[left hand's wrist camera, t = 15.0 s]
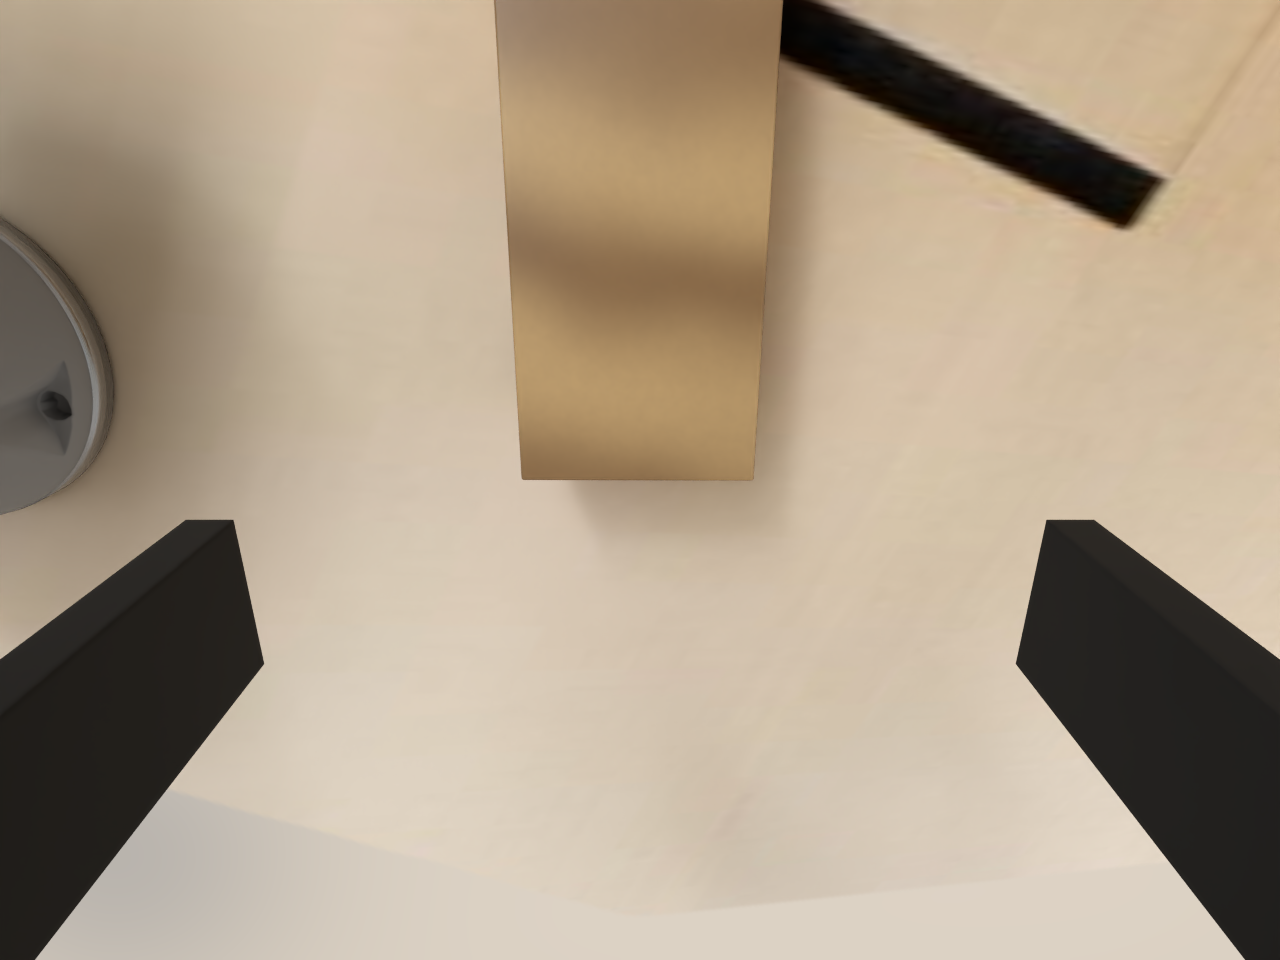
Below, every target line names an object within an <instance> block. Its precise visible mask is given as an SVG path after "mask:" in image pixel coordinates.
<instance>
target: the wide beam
mask: <svg viewBox="0 0 1280 960" xmlns="http://www.w3.org/2000/svg"><path fill="white" fill-rule="evenodd" d="M782 6H783V0H494V7H495V25H496V42H497V59H498V77H499V94H500V111H501V129H502V146H503V163H504V181H505V198H506V215H507V233H508V250H509V267H510V285H511V302H512V319H513V337H514V354H515V371H516V389H517V406H518V423H519V441H520V458H521V475H522V479H523V480H753V479H754V463H755V446H756V430H757V414H758V397H759V381H760V365H761V349H762V332H763V316H764V300H765V283H766V267H767V251H768V234H769V218H770V202H771V186H772V169H773V153H774V137H775V120H776V104H777V88H778V72H779V55H780V39H781V23H782Z"/></svg>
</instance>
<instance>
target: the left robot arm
mask: <svg viewBox="0 0 1280 960" xmlns="http://www.w3.org/2000/svg"><path fill="white" fill-rule="evenodd" d="M113 398H114V395H113V379H112V372H111V366H110V361H109V357H108V353H107V350H106V347H105V344H104V341H103V338H102V335H101V333H100V331H99V328H98V326H97V324H96V322H95V319H94V318H93V316H92V314H91V312H90V310H89V308H88V306H87V305H86V303H85V302H84V300H83V298H82V297H81V295H80V294H79V292H78V291H77V289H76V288H75V287H74V285H73V284H72V283H71V281H70V280H69V279H68V277H67V276H66V275H65V274H64V272H63V271H62V270H61V269H60V268H59V267H58V266H57V265H56V263H55V262H54V261H53V260H52V259H51V258H50V257H49V256H48V255H47V254H46V253H45V252H44V251H43V250H42V249H41V248H39V247H38V246H37V245H36V244H35V243H34V242H32V241H31V240H30V239H29V238H28V237H26V236H25V235H24V234H23V233H21V232H20V231H19V230H17V229H16V228H14V227H13V226H12V225H10V224H9V223H7V222H6V221H4V220H2V219H1V218H0V515H2V514H5V513H8V512H12V511H15V510H19V509H22V508H25V507H27V506H30V505H32V504H35V503H36V502H38V501H40V500H42V499H44V498H46V497H48V496H50V495H51V494H53V493H55V492H57V491H59V490H61V489H62V488H64V487H66V486H67V485H69V484H70V483H72V482H73V481H74V480H76V479H77V478H78V477H79V476H80V475H81V474H82V473H83V472H84V471H85V470H86V469H87V468H88V467H89V466H90V464H91V463H92V462H93V461H94V459H95V458H96V456H97V454H98V453H99V451H100V450H101V448H102V445H103V443H104V441H105V439H106V436H107V433H108V430H109V427H110V422H111V417H112V412H113ZM263 665H264V661H263V656H262V652H261V647H260V642H259V637H258V633H257V628H256V623H255V619H254V614H253V609H252V605H251V600H250V595H249V591H248V586H247V581H246V577H245V572H244V567H243V562H242V558H241V553H240V548H239V544H238V539H237V534H236V530H235V525H234V520H185V521H184V522H183V523H181V524H180V525H179V526H177V527H176V528H175V529H173V530H172V531H171V532H169V533H168V534H167V535H165V536H164V537H163V538H161V539H160V540H159V541H157V542H156V543H155V544H153V545H152V546H151V547H149V548H148V549H147V550H145V551H144V552H143V553H141V554H140V555H139V556H137V557H136V558H135V559H133V560H132V561H131V562H129V563H128V564H127V565H125V566H124V567H123V568H121V569H120V570H119V571H117V572H116V573H115V574H113V575H112V576H111V577H109V578H108V579H107V580H105V581H104V582H103V583H101V584H100V585H99V586H97V587H96V588H95V589H93V590H92V591H91V592H89V593H88V594H87V595H85V596H84V597H83V598H81V599H80V600H79V601H77V602H76V603H75V604H73V605H72V606H71V607H69V608H68V609H67V610H65V611H64V612H63V613H61V614H60V615H59V616H57V617H56V618H55V619H53V620H52V621H51V622H49V623H48V624H47V625H45V626H44V627H43V628H42V629H40V630H39V631H38V632H36V633H35V634H34V635H32V636H31V637H30V638H28V639H27V640H26V641H24V642H23V643H22V644H20V645H19V646H18V647H16V648H15V649H14V650H12V651H11V652H10V653H8V654H7V655H6V656H4V657H3V658H2V659H0V960H35V959H36V958H37V956H38V955H39V954H40V952H41V951H42V950H43V949H44V947H45V946H46V945H47V943H48V942H49V941H50V940H51V938H52V937H53V936H54V934H55V933H56V932H57V931H58V929H59V928H60V927H61V925H62V924H63V923H64V921H65V920H66V919H67V918H68V916H69V915H70V914H71V912H72V911H73V910H74V909H75V907H76V906H77V905H78V903H79V902H80V901H81V899H82V898H83V897H84V896H85V894H86V893H87V892H88V891H89V889H90V888H91V887H92V885H93V884H94V883H95V882H96V880H97V879H98V878H99V876H100V875H101V874H102V872H103V871H104V870H105V868H106V867H107V866H108V865H109V863H110V862H111V861H112V860H113V858H114V857H115V856H116V854H117V853H118V852H119V851H120V849H121V848H122V847H123V845H124V844H125V843H126V841H127V840H128V839H129V838H130V836H131V835H132V834H133V832H134V831H135V830H136V829H137V827H138V826H139V825H140V823H141V822H142V821H143V819H144V818H145V817H146V816H147V814H148V813H149V812H150V810H151V809H152V808H153V807H154V805H155V804H156V803H157V801H158V800H159V799H160V798H161V796H162V795H163V794H164V792H165V791H166V790H167V789H168V787H169V786H170V785H171V783H172V782H173V781H174V780H175V778H176V777H177V776H178V774H179V773H180V772H181V770H182V769H183V768H184V767H185V765H186V764H187V763H188V761H189V760H190V759H191V758H192V756H193V755H194V754H195V752H196V751H197V750H198V749H199V747H200V746H201V745H202V743H203V742H204V741H205V740H206V738H207V737H208V736H209V734H210V733H211V732H212V730H213V729H214V728H215V727H216V725H217V724H218V723H219V721H220V720H221V719H222V718H223V716H224V715H225V714H226V712H227V711H228V710H229V709H230V707H231V706H232V705H233V703H234V702H235V701H236V699H237V698H238V697H239V696H240V694H241V693H242V692H243V690H244V689H245V688H246V687H247V685H248V684H249V683H250V681H251V680H252V679H253V678H254V676H255V675H256V674H257V672H258V671H259V670H260V669H261V667H262V666H263ZM1016 665H1017V666H1018V667H1019V669H1020V670H1021V671H1022V672H1023V674H1024V675H1025V676H1026V678H1027V679H1028V680H1029V681H1030V683H1031V684H1032V685H1033V687H1034V688H1035V689H1036V690H1037V692H1038V693H1039V694H1040V696H1041V697H1042V698H1043V699H1044V701H1045V702H1046V703H1047V705H1048V706H1049V707H1050V709H1051V710H1052V711H1053V712H1054V714H1055V715H1056V716H1057V718H1058V719H1059V720H1060V721H1061V723H1062V724H1063V725H1064V727H1065V728H1066V729H1067V730H1068V732H1069V733H1070V734H1071V736H1072V737H1073V738H1074V740H1075V741H1076V742H1077V743H1078V745H1079V746H1080V747H1081V749H1082V750H1083V751H1084V752H1085V754H1086V755H1087V756H1088V758H1089V759H1090V760H1091V761H1092V763H1093V764H1094V765H1095V767H1096V768H1097V769H1098V770H1099V772H1100V773H1101V774H1102V776H1103V777H1104V778H1105V780H1106V781H1107V782H1108V783H1109V785H1110V786H1111V787H1112V789H1113V790H1114V791H1115V792H1116V794H1117V795H1118V796H1119V798H1120V799H1121V800H1122V801H1123V803H1124V804H1125V805H1126V807H1127V808H1128V809H1129V811H1130V812H1131V813H1132V814H1133V816H1134V817H1135V818H1136V820H1137V821H1138V822H1139V823H1140V825H1141V826H1142V827H1143V829H1144V830H1145V831H1146V832H1147V834H1148V835H1149V836H1150V838H1151V839H1152V840H1153V841H1154V843H1155V844H1156V845H1157V847H1158V848H1159V849H1160V851H1161V852H1162V853H1163V854H1164V856H1165V857H1166V858H1167V860H1168V861H1169V862H1170V863H1171V865H1172V866H1173V867H1174V869H1175V870H1176V871H1177V872H1178V874H1179V875H1180V876H1181V878H1182V879H1183V880H1184V881H1185V883H1186V884H1187V885H1188V887H1189V888H1190V889H1191V891H1192V892H1193V893H1194V894H1195V896H1196V897H1197V898H1198V900H1199V901H1200V902H1201V903H1202V905H1203V906H1204V907H1205V909H1206V910H1207V911H1208V912H1209V914H1210V915H1211V916H1212V918H1213V919H1214V920H1215V922H1216V923H1217V924H1218V925H1219V927H1220V928H1221V929H1222V931H1223V932H1224V933H1225V934H1226V936H1227V937H1228V938H1229V940H1230V941H1231V942H1232V943H1233V945H1234V946H1235V947H1236V949H1237V950H1238V951H1239V953H1240V954H1241V955H1242V956H1243V958H1244V959H1245V960H1280V659H1278V658H1277V657H1276V656H1274V655H1273V654H1272V653H1270V652H1269V651H1268V650H1266V649H1265V648H1264V647H1262V646H1261V645H1260V644H1258V643H1257V642H1256V641H1254V640H1253V639H1252V638H1250V637H1249V636H1248V635H1246V634H1245V633H1244V632H1242V631H1241V630H1240V629H1238V628H1237V627H1236V626H1235V625H1233V624H1232V623H1231V622H1229V621H1228V620H1227V619H1225V618H1224V617H1223V616H1221V615H1220V614H1219V613H1217V612H1216V611H1215V610H1213V609H1212V608H1211V607H1209V606H1208V605H1207V604H1205V603H1204V602H1203V601H1201V600H1200V599H1199V598H1197V597H1196V596H1195V595H1193V594H1192V593H1191V592H1189V591H1188V590H1187V589H1185V588H1184V587H1183V586H1181V585H1180V584H1179V583H1177V582H1176V581H1175V580H1173V579H1172V578H1171V577H1169V576H1168V575H1167V574H1165V573H1164V572H1163V571H1161V570H1160V569H1159V568H1157V567H1156V566H1155V565H1153V564H1152V563H1151V562H1149V561H1148V560H1147V559H1145V558H1144V557H1143V556H1141V555H1140V554H1139V553H1137V552H1136V551H1135V550H1133V549H1132V548H1131V547H1129V546H1128V545H1127V544H1125V543H1124V542H1123V541H1121V540H1120V539H1119V538H1117V537H1116V536H1115V535H1113V534H1112V533H1111V532H1109V531H1108V530H1107V529H1105V528H1104V527H1103V526H1101V525H1100V524H1099V523H1097V522H1096V521H1095V520H1046V525H1045V530H1044V534H1043V539H1042V544H1041V548H1040V553H1039V558H1038V562H1037V567H1036V572H1035V576H1034V581H1033V586H1032V591H1031V595H1030V600H1029V605H1028V609H1027V614H1026V619H1025V623H1024V628H1023V633H1022V637H1021V642H1020V647H1019V652H1018V656H1017V661H1016Z"/></svg>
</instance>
